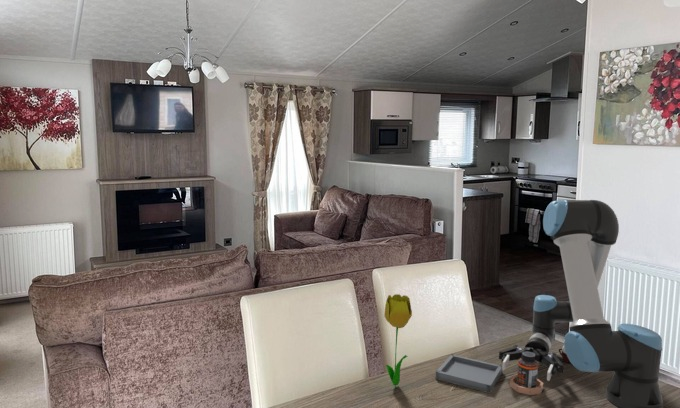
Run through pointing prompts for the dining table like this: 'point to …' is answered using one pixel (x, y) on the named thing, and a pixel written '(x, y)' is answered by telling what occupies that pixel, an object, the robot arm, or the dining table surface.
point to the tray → (469, 373)
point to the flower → (397, 325)
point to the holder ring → (523, 389)
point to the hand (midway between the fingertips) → (525, 371)
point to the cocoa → (564, 355)
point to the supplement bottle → (527, 370)
